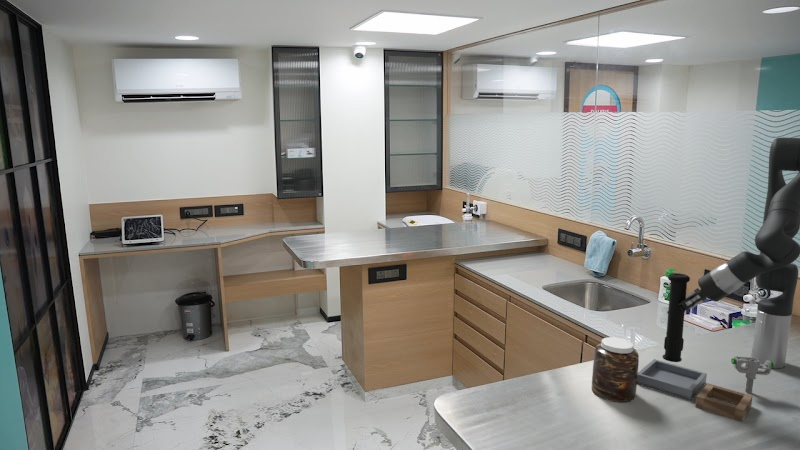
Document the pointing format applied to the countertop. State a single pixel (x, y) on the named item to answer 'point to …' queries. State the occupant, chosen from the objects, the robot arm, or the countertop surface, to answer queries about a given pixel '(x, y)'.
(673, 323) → the tube
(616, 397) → the jar
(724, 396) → the collar
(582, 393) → the countertop surface
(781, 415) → the countertop surface
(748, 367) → the mechanical component
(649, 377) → the tray
